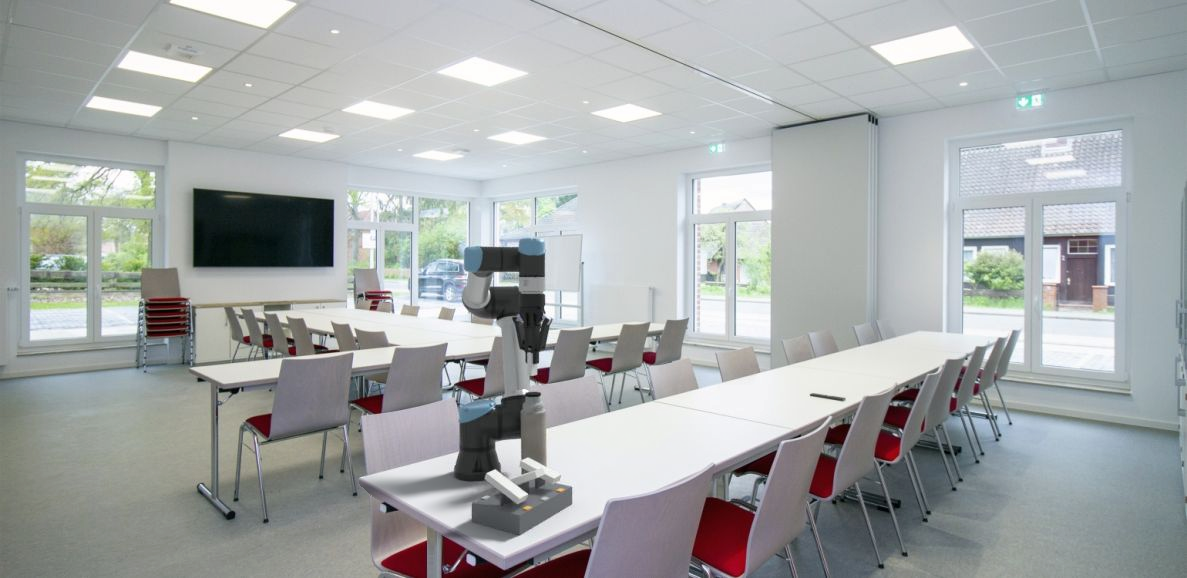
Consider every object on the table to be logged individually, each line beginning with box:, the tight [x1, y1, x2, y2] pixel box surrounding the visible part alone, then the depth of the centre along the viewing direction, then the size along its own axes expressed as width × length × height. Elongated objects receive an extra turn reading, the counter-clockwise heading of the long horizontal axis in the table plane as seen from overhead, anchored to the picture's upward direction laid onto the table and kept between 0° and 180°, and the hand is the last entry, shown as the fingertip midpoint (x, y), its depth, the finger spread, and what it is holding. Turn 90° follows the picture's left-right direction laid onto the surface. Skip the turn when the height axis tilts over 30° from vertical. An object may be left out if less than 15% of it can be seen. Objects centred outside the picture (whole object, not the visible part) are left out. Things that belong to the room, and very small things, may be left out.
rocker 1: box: [484, 469, 528, 504], centre depth 159 cm, size 12×4×2 cm, turn 59°
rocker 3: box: [518, 458, 562, 484], centre depth 172 cm, size 12×4×2 cm, turn 59°
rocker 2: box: [508, 468, 545, 485], centre depth 166 cm, size 12×4×2 cm, turn 58°
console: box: [471, 477, 573, 536], centre depth 166 cm, size 16×24×8 cm, turn 149°
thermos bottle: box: [520, 391, 548, 475], centre depth 191 cm, size 8×8×28 cm
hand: (532, 375), depth 173 cm, fingers closed
